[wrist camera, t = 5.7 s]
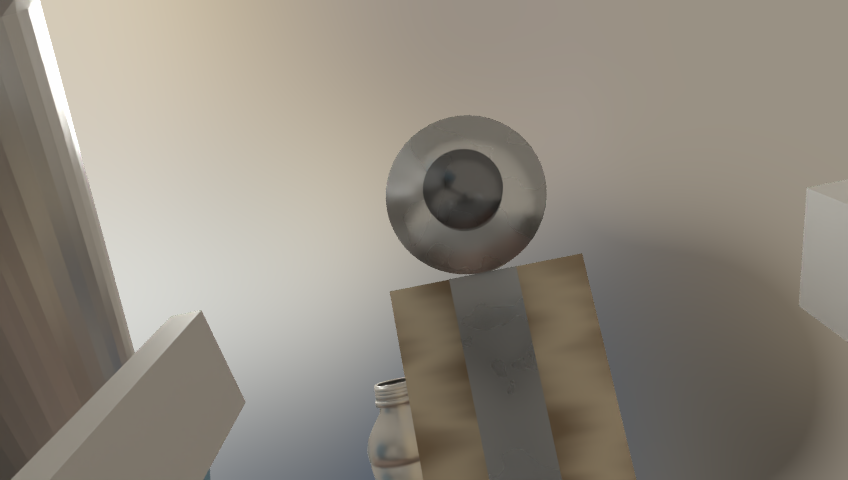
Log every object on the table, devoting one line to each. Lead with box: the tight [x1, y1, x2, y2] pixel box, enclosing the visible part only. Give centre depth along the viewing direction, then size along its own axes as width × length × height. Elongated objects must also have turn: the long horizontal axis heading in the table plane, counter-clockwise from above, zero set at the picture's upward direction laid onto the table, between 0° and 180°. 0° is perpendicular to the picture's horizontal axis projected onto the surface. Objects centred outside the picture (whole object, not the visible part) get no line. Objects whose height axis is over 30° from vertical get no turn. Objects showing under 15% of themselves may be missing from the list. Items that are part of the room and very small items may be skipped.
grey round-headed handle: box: [386, 115, 562, 480], centre depth 21 cm, size 6×16×9 cm
